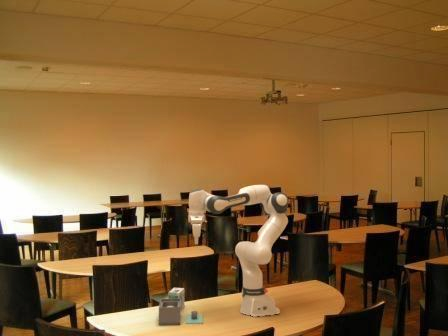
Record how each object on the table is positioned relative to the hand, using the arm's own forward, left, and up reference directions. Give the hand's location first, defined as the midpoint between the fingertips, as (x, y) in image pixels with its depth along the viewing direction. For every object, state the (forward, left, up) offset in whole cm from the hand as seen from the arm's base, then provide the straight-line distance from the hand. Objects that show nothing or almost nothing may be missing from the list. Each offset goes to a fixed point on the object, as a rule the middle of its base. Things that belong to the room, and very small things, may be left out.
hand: (196, 242), depth 256 cm
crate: (+14, +13, -39) cm, 43 cm away
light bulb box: (+11, -6, -39) cm, 41 cm away
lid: (+1, +13, -40) cm, 42 cm away
